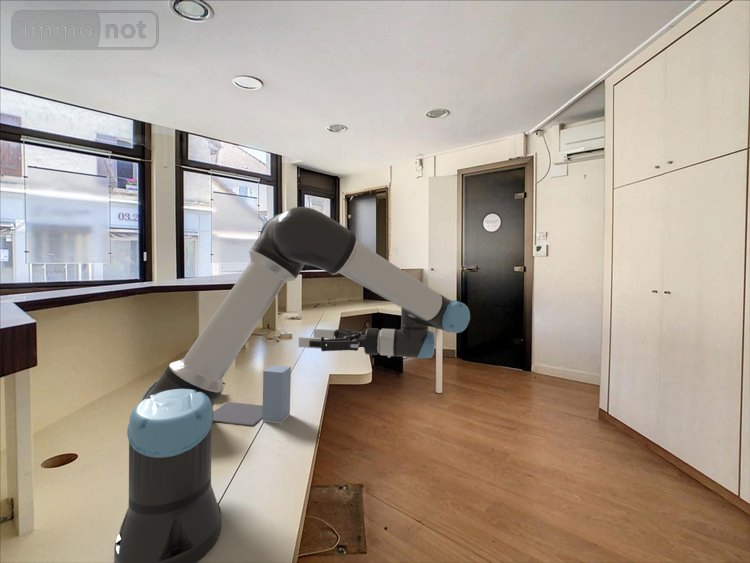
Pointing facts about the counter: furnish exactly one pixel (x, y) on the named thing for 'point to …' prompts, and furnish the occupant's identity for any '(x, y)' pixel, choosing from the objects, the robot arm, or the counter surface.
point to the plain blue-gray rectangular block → (276, 393)
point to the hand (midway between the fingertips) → (306, 337)
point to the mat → (238, 414)
